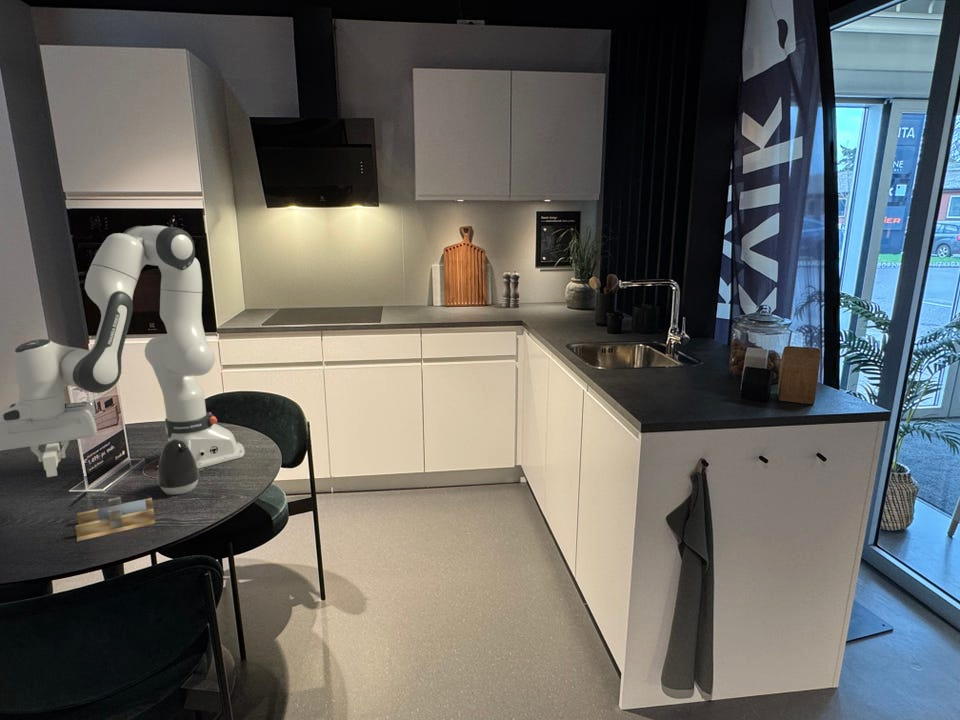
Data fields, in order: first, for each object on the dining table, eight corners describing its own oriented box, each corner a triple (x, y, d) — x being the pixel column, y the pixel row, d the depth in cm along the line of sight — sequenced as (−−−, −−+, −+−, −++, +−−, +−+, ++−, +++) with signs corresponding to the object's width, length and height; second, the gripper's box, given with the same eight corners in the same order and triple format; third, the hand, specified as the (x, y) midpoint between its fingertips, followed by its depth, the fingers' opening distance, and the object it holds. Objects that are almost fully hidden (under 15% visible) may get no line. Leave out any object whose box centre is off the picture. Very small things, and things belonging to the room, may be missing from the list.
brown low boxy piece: (153, 506, 154) (150, 487, 152) (155, 526, 144) (152, 506, 142) (40, 531, 142) (36, 510, 140) (34, 554, 132) (30, 532, 130)
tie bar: (61, 460, 152) (58, 442, 151) (58, 475, 144) (55, 456, 142) (49, 462, 151) (46, 444, 150) (45, 477, 142) (42, 458, 141)
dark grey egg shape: (174, 503, 155) (166, 450, 152) (152, 494, 161) (144, 442, 157) (209, 489, 164) (203, 438, 160) (187, 480, 169) (180, 430, 166)
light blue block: (146, 511, 149) (144, 496, 149) (147, 517, 146) (145, 503, 145) (100, 521, 144) (98, 506, 144) (100, 528, 141) (97, 513, 140)
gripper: (94, 397, 151) (101, 447, 155) (-7, 409, 141) (3, 462, 144) (93, 403, 146) (101, 455, 149) (-12, 416, 136) (-1, 471, 139)
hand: (52, 459), depth 147 cm, fingers closed on tie bar, 2 cm apart
